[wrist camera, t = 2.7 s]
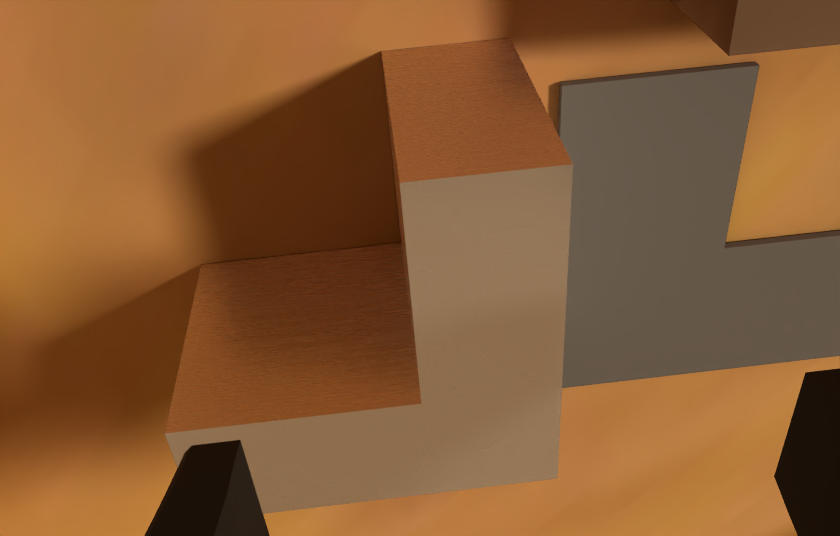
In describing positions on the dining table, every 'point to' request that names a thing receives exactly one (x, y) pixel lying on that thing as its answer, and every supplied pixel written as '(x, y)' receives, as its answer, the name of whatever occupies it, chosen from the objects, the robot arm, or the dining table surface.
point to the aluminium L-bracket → (403, 311)
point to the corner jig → (765, 23)
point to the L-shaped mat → (679, 236)
